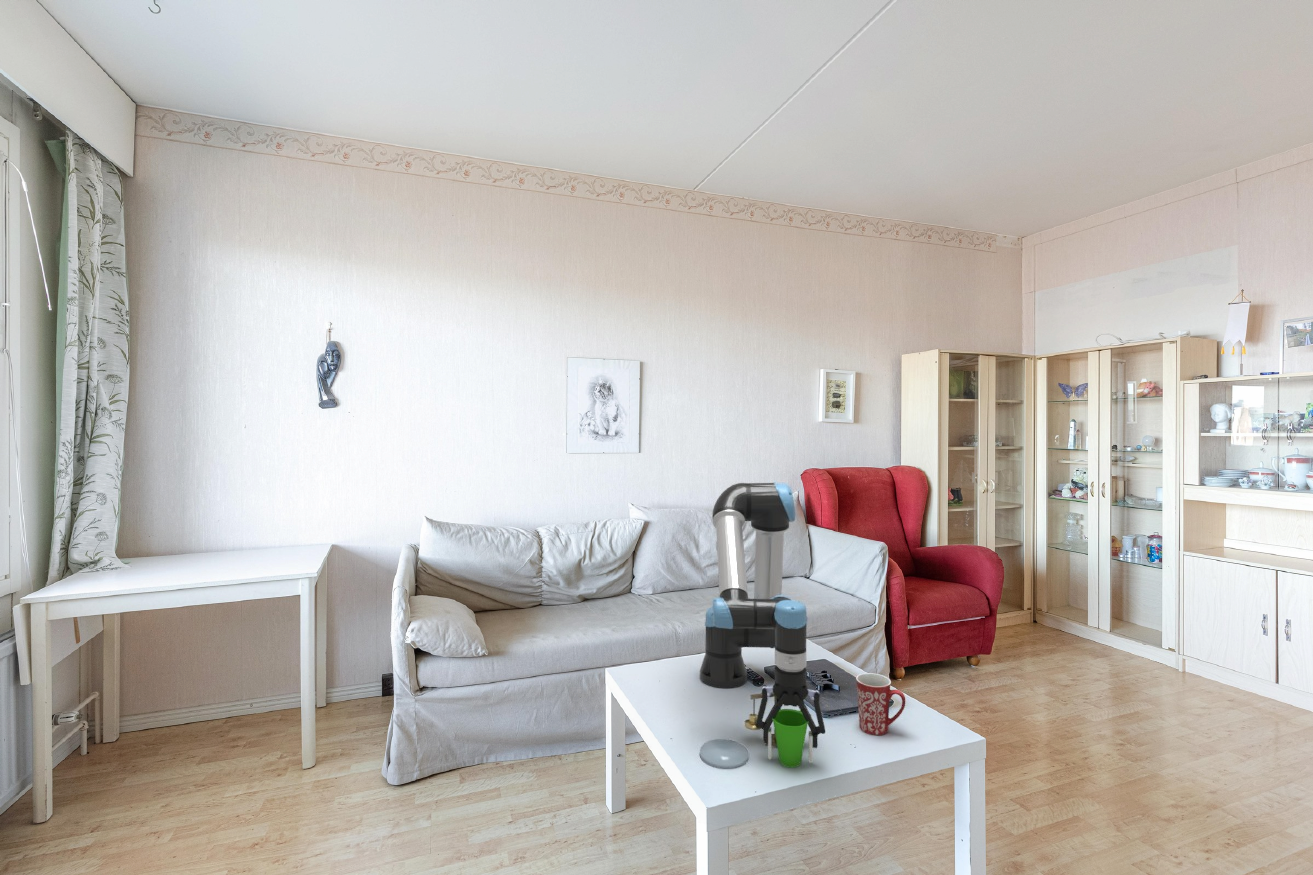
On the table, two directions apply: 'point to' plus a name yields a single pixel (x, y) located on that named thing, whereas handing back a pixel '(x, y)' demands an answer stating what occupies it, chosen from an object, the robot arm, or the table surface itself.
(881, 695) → the mug
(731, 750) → the dish
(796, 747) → the cup
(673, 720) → the table surface
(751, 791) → the table surface
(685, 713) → the table surface
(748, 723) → the balance
